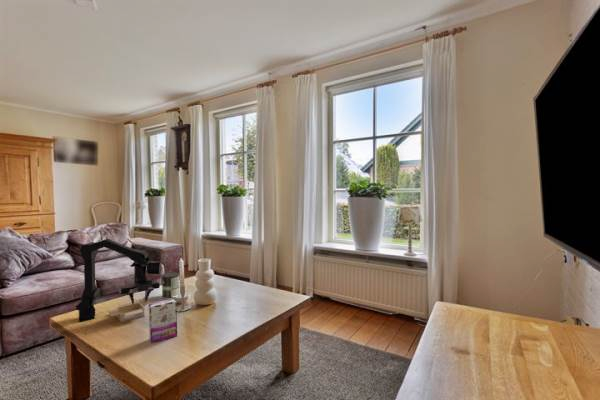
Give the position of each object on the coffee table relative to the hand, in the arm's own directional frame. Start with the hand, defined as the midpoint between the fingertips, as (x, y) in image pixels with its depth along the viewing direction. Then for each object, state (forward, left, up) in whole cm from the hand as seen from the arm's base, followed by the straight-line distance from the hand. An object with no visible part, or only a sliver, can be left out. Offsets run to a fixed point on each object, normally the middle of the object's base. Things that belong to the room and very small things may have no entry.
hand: (139, 303), depth 158 cm
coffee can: (+22, +17, -7) cm, 28 cm away
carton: (-6, -1, -6) cm, 9 cm away
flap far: (+1, +1, -2) cm, 2 cm away
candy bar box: (+2, -35, -7) cm, 36 cm away
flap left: (-4, +7, -2) cm, 8 cm away
